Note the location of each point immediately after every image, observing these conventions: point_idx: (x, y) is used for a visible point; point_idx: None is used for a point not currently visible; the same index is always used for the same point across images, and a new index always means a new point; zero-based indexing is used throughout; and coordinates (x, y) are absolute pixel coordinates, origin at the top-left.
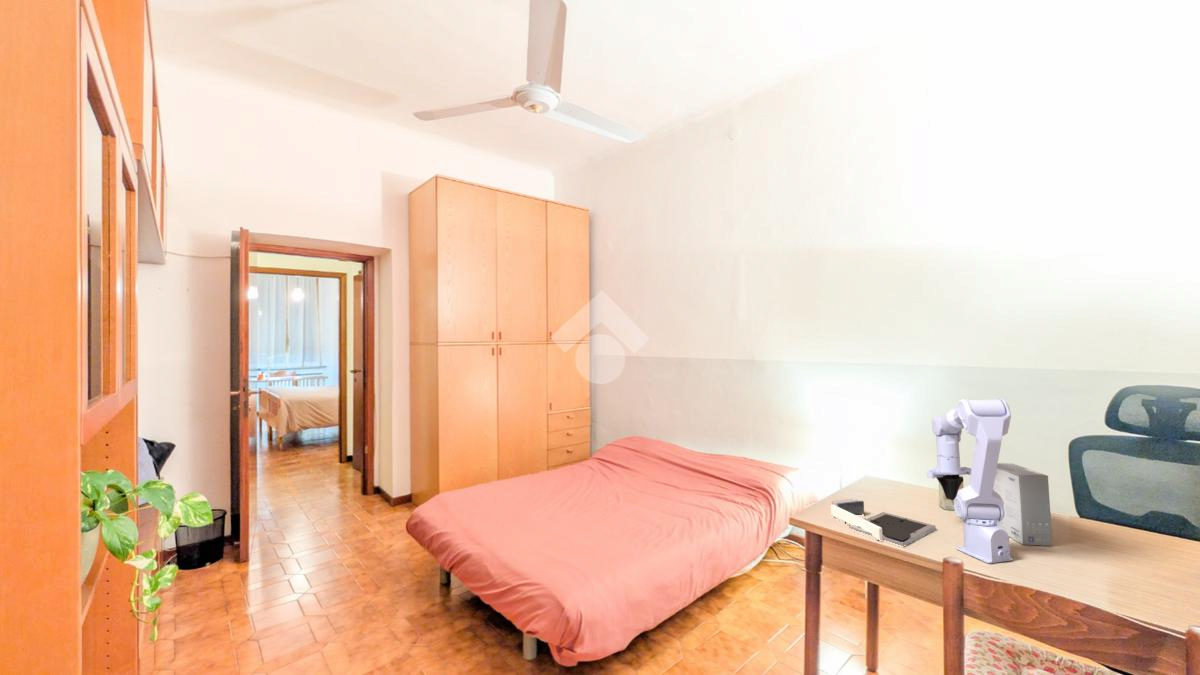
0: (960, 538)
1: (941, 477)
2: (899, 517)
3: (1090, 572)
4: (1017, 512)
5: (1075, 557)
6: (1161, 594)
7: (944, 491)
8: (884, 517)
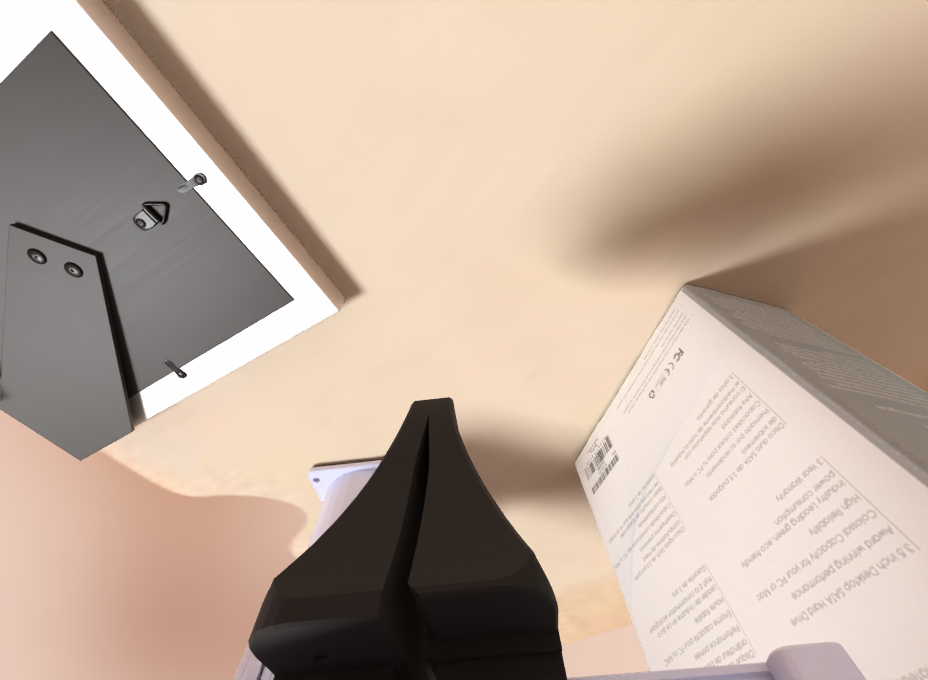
0: (398, 392)
1: (287, 675)
2: (159, 134)
3: (562, 572)
4: (627, 575)
5: None
6: (585, 621)
7: (395, 446)
8: (29, 119)
